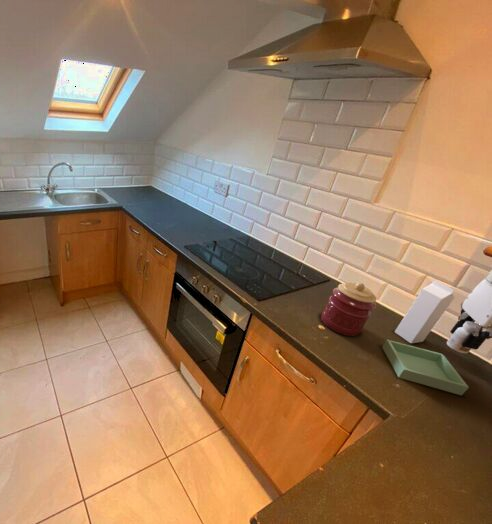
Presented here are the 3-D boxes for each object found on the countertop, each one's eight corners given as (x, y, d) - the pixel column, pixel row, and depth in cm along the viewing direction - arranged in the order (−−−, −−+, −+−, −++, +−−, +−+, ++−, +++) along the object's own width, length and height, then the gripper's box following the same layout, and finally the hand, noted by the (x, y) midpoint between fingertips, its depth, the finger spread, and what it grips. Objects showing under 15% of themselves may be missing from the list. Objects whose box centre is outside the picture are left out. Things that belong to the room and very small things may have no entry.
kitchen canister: (345, 340, 101) (369, 297, 92) (312, 316, 111) (331, 276, 103) (368, 332, 106) (393, 291, 98) (335, 310, 116) (355, 271, 108)
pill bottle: (462, 355, 77) (481, 332, 74) (442, 343, 81) (459, 321, 77) (471, 351, 79) (490, 329, 75) (451, 340, 83) (468, 318, 79)
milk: (410, 343, 103) (448, 290, 92) (393, 331, 108) (427, 280, 97) (423, 341, 104) (461, 289, 94) (405, 330, 109) (440, 279, 99)
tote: (436, 361, 96) (442, 354, 94) (461, 395, 84) (469, 387, 83) (381, 346, 100) (386, 339, 98) (398, 377, 88) (404, 369, 87)
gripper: (560, 306, 62) (502, 368, 71) (504, 270, 76) (461, 325, 85) (515, 296, 64) (463, 358, 73) (468, 263, 78) (430, 318, 87)
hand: (463, 340), depth 79 cm, fingers closed on pill bottle, 4 cm apart
